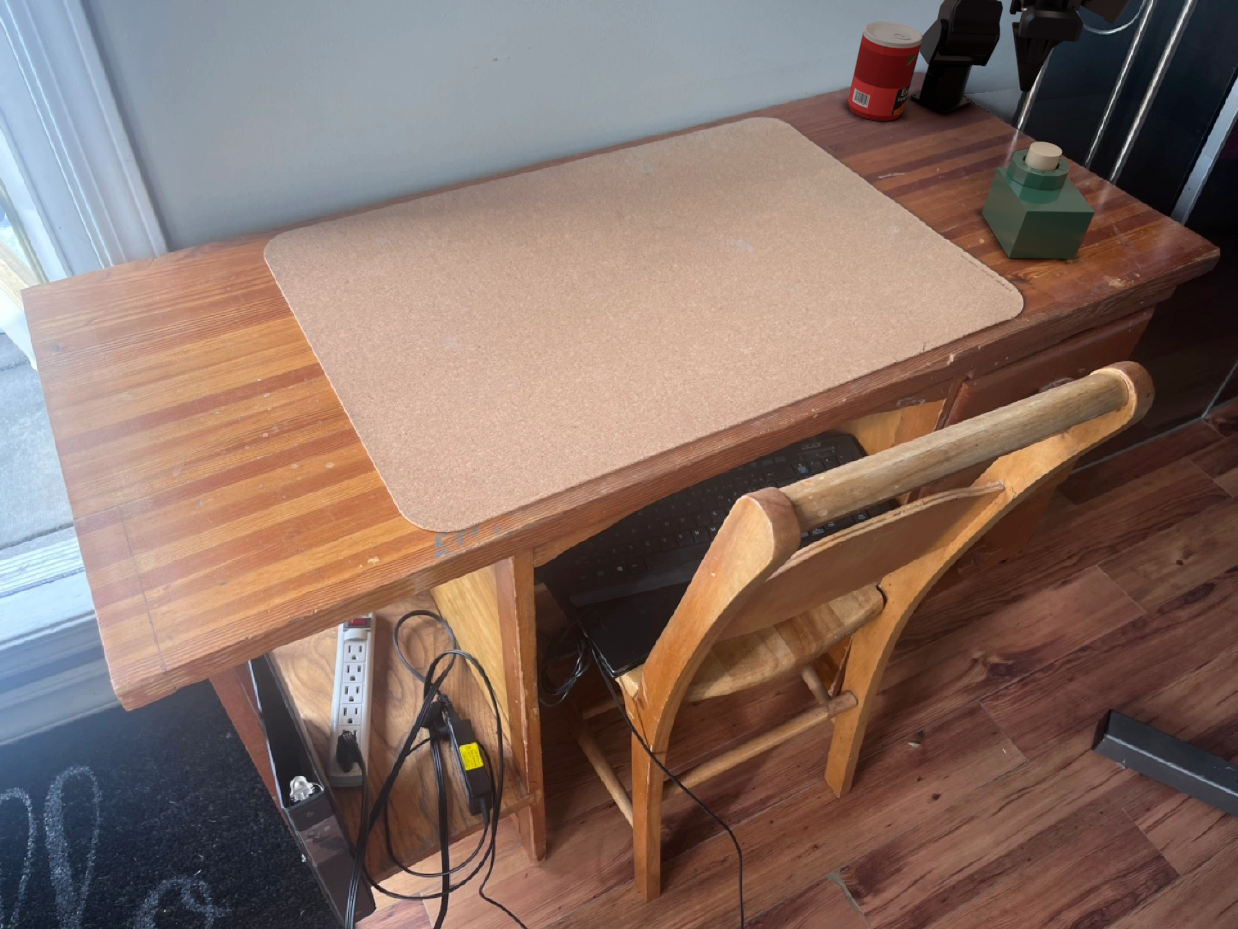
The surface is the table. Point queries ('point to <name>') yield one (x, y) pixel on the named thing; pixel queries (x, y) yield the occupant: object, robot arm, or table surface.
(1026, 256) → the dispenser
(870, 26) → the canned food
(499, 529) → the table surface
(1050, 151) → the cream push button
